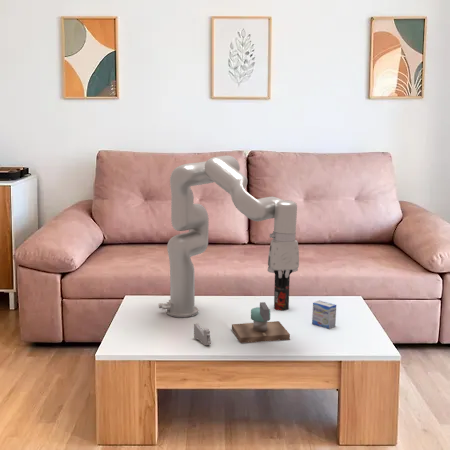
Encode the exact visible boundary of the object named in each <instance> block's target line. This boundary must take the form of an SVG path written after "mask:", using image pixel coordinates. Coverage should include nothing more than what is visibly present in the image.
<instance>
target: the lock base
mask: <svg viewBox="0 0 450 450" xmlns="http://www.w3.org/2000/svg"><path fill="white" fill-rule="evenodd" d="M231 331H232V332H233V334H234V335H235V337H236V339H237V341H239V343H240V344H248V343H263V342H274V341H275V342H279V341H290V340H291V334H290V333H289V331H288V329H286V328H285V327H284V325H283V324H282V323H281V322H280V321H278V320H276V321H264V322H258V321H254V320H253V322H245V323H231Z"/></svg>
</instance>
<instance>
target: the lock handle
mask: <svg viewBox="0 0 450 450" xmlns="http://www.w3.org/2000/svg"><path fill="white" fill-rule="evenodd" d="M250 320H251V321H253V322H254V321H258V322H264V321H267V322H270V320H271V309H269V307H268V305H267V303H266V301H265V302H264V301H262V302H259V306H257V307H253V308H251V309H250Z"/></svg>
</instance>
